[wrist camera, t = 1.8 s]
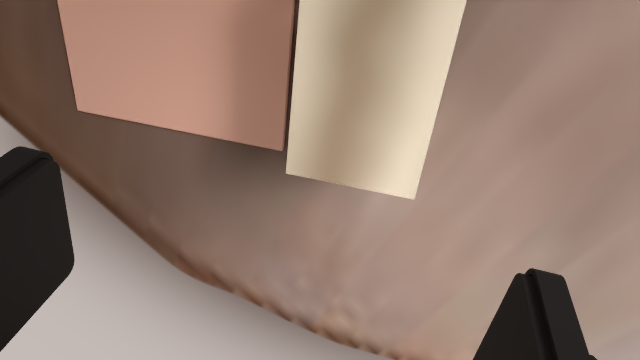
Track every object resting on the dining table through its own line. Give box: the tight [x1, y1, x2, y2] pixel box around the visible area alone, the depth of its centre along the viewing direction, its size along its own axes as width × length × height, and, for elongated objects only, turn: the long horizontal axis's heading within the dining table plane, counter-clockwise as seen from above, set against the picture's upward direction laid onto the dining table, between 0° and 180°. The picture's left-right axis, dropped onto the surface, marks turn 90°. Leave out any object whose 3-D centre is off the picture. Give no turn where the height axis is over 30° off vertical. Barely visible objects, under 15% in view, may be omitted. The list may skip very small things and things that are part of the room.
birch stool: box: [286, 0, 467, 199], centre depth 24 cm, size 6×9×8 cm, turn 174°
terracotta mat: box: [57, 0, 295, 151], centre depth 29 cm, size 14×14×1 cm
